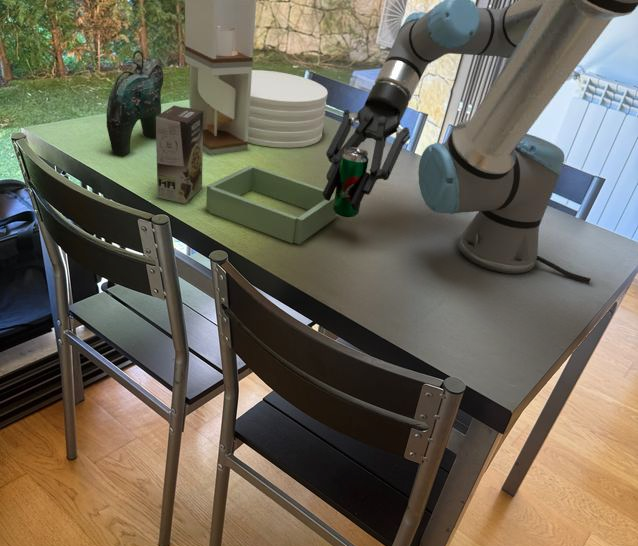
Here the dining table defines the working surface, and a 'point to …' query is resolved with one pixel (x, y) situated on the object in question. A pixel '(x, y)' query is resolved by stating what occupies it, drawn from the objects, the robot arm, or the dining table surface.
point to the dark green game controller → (134, 104)
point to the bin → (265, 219)
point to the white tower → (221, 69)
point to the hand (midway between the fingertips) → (339, 201)
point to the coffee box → (179, 153)
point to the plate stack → (285, 110)
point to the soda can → (349, 180)
